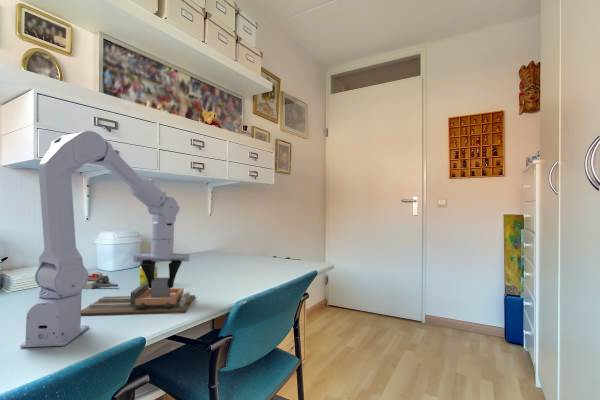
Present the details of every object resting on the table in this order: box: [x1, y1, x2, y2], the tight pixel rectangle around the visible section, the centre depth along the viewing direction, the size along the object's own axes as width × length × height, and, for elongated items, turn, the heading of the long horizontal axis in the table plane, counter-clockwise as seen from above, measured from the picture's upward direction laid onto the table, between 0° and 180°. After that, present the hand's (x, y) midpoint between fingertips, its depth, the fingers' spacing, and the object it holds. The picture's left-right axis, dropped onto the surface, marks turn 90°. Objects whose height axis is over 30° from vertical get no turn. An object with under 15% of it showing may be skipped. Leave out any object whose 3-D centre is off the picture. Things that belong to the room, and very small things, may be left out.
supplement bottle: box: [139, 262, 158, 289], centre depth 106 cm, size 5×5×10 cm
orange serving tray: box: [130, 283, 185, 309], centre depth 86 cm, size 12×11×4 cm
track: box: [81, 290, 196, 317], centre depth 85 cm, size 14×26×3 cm, turn 99°
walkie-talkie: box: [82, 271, 119, 290], centre depth 105 cm, size 9×4×20 cm
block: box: [150, 276, 170, 298], centre depth 86 cm, size 4×4×5 cm
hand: (161, 287), depth 86 cm, fingers open, 5 cm apart
